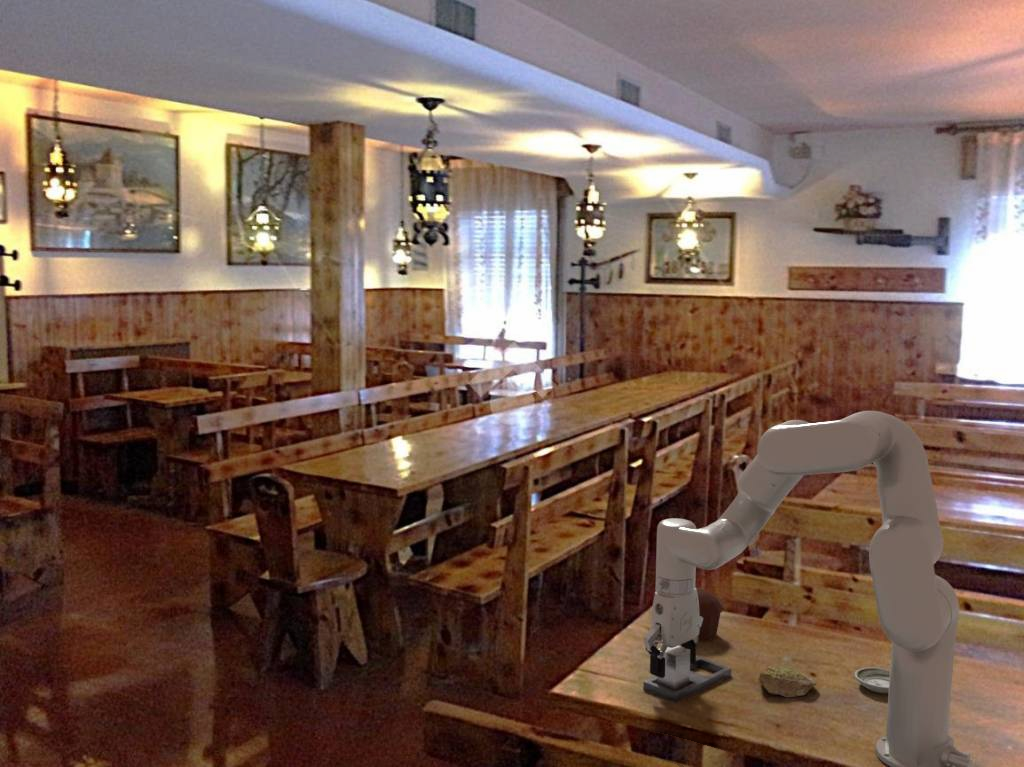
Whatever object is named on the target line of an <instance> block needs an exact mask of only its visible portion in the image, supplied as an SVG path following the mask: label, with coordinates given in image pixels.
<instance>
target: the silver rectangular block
mask: <svg viewBox="0 0 1024 767" xmlns="http://www.w3.org/2000/svg"><path fill="white" fill-rule="evenodd" d="M660 648H661V647H659V648H657V649H658V650H660ZM663 657H664V658H665V677H664V678H660V677H657V684H658V685H660V686H662V687H665V688H667V689H670V690H672V691H675V692H676V691H678V690H680V689H683V688H685V687H687V686H689V676H690V649H687V648H684V647H681V645H678V646H676V647H673V648H670V647H667V649H666V651H665V653H664V656H663Z"/></svg>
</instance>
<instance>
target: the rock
mask: <svg viewBox="0 0 1024 767" xmlns="http://www.w3.org/2000/svg"><path fill="white" fill-rule="evenodd" d="M757 680H758V681H759V683H760V684H761V685H762V687H763V688H764V689H765V690H766V691H767V692H768V693H769V694H771V695H780V696H782V697H785V698H794V697H800V696H805V695H806V694H808V693H809V690H811V689H812V688H814V687H815V686H817V684H818V683H817V682H816V681H815V680H814V679H812V678H811V677H808V676H807V675H805V674H804V673H802V672H801V671H799V670H797V669H796V668H793V667H790V666H777V665H772V666H768V667H767V668H764V670H763V672H761V673H759V676H758V679H757Z"/></svg>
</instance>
